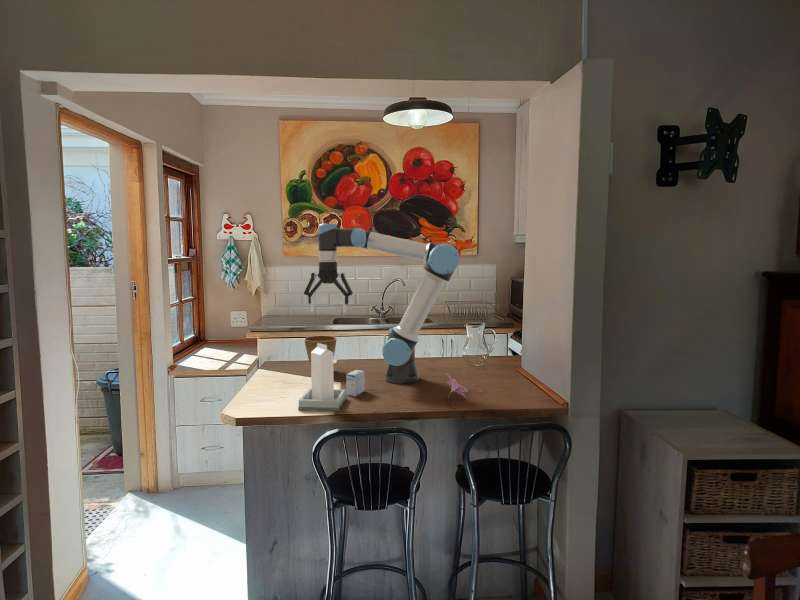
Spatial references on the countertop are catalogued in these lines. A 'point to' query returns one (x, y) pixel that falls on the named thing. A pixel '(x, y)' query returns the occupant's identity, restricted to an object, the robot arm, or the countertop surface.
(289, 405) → the countertop surface
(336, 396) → the carton holder
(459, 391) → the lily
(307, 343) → the plant pot
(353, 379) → the medicine box
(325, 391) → the milk
